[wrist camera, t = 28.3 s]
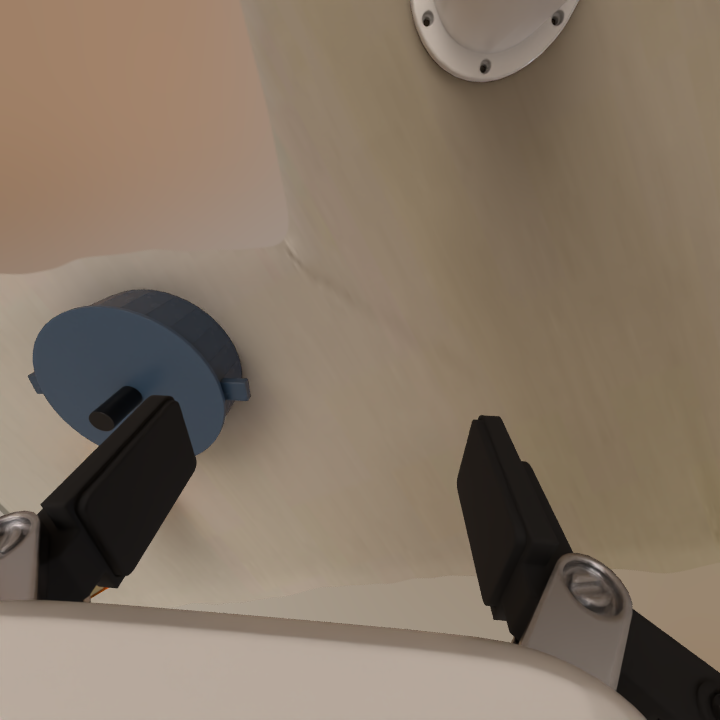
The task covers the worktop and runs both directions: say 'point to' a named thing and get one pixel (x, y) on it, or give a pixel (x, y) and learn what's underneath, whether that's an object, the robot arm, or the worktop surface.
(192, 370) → the lid
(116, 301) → the pot
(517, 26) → the robot arm
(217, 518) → the worktop surface
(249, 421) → the worktop surface
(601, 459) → the worktop surface
